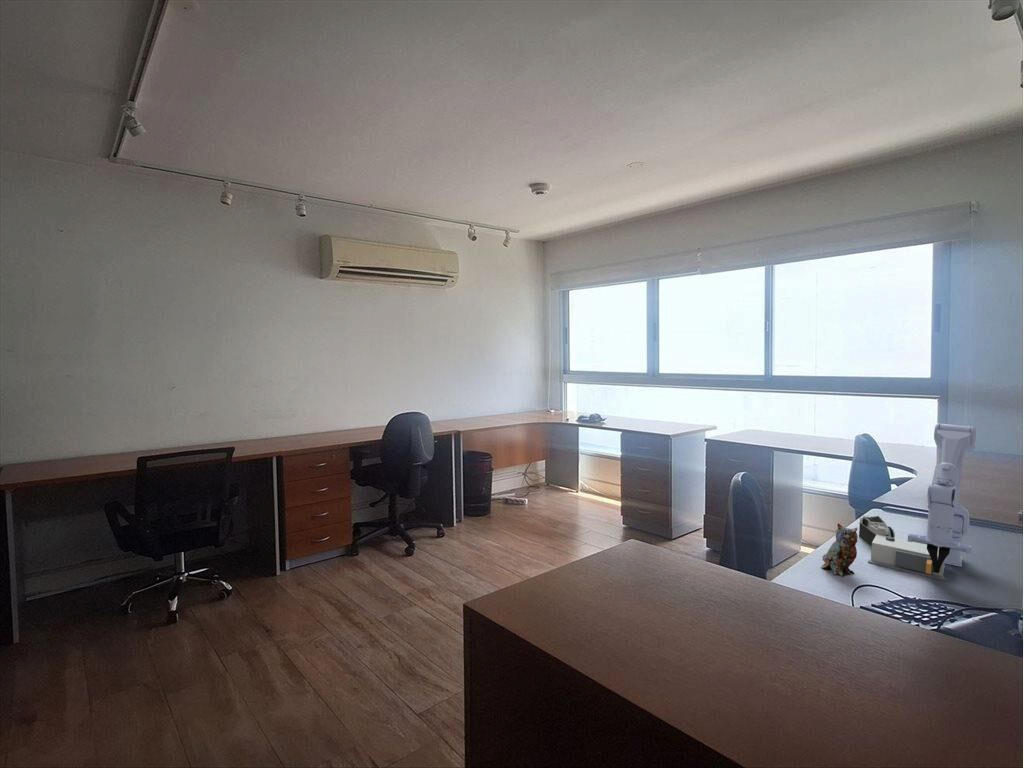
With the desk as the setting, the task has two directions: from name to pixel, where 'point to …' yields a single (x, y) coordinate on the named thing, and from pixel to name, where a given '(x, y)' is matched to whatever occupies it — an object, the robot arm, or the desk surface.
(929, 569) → the side door
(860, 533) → the camera
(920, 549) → the camera case
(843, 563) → the figurine
